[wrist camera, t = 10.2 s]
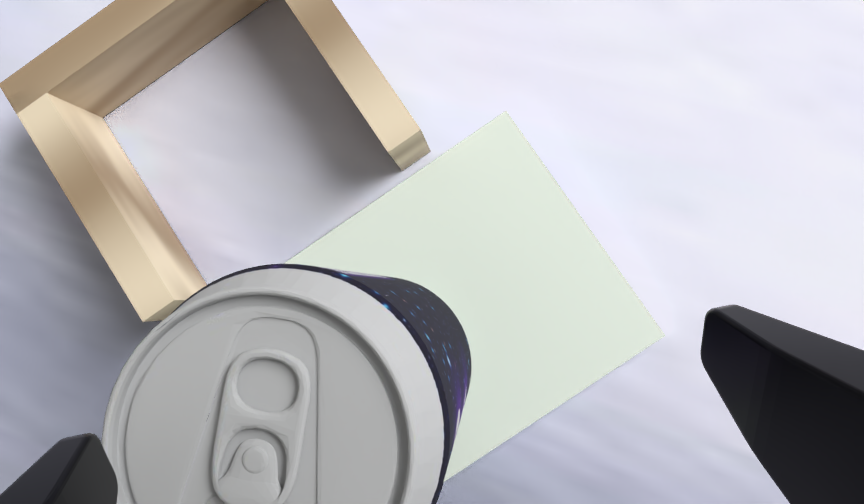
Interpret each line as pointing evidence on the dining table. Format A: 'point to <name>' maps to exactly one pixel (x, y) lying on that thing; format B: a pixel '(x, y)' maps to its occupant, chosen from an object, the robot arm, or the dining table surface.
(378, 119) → the frame
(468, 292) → the sage pad
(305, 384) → the beverage can
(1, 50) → the dining table surface
